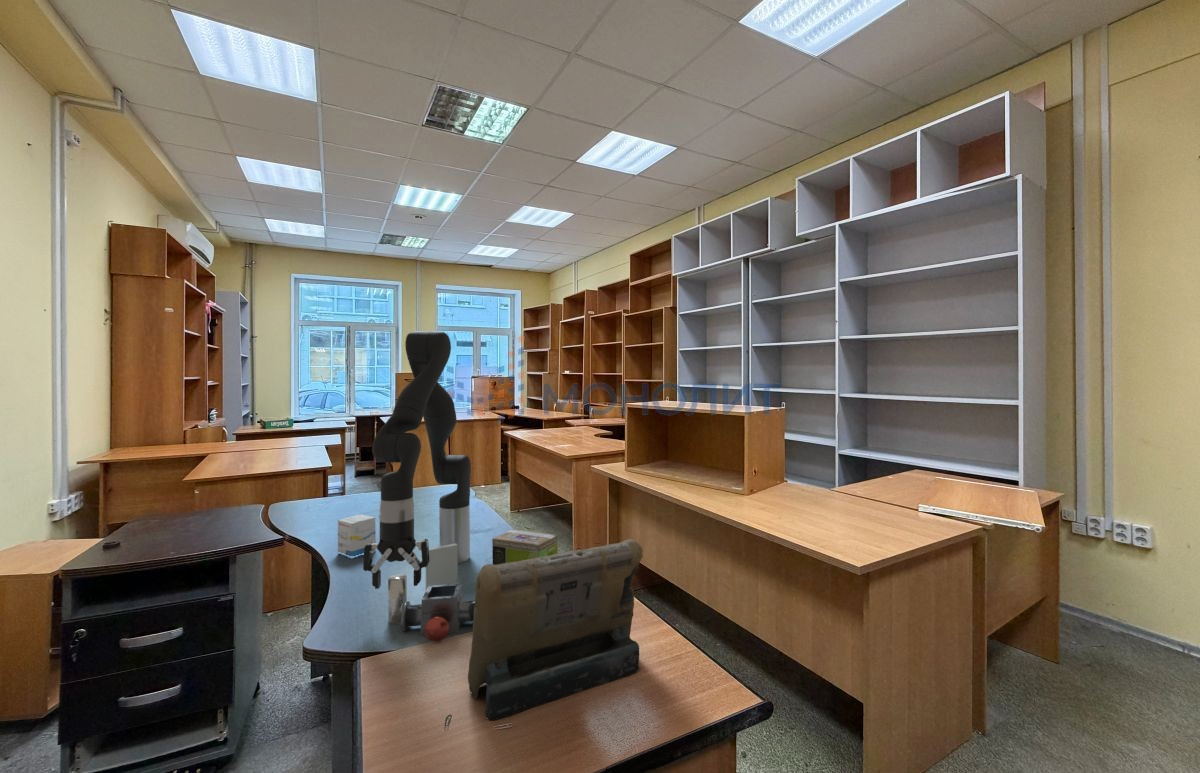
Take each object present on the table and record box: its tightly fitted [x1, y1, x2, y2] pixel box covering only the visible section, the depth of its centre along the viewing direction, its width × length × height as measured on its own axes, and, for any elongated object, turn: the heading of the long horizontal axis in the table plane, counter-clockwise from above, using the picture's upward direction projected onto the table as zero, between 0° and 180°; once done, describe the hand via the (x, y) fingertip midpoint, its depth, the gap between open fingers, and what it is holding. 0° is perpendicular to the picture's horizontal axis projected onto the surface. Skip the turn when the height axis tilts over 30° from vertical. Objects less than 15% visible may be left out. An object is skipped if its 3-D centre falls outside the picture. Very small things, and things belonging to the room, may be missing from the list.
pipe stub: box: [387, 573, 408, 625], centre depth 112 cm, size 4×4×10 cm
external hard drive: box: [425, 544, 459, 591], centre depth 126 cm, size 2×8×12 cm, turn 123°
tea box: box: [491, 528, 559, 565], centre depth 127 cm, size 15×10×15 cm
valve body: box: [400, 582, 475, 642], centre depth 107 cm, size 12×17×8 cm
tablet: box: [467, 538, 644, 721], centre depth 89 cm, size 33×14×25 cm, turn 123°
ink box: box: [337, 513, 377, 556], centre depth 157 cm, size 8×8×12 cm
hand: (397, 586), depth 111 cm, fingers open, 8 cm apart
